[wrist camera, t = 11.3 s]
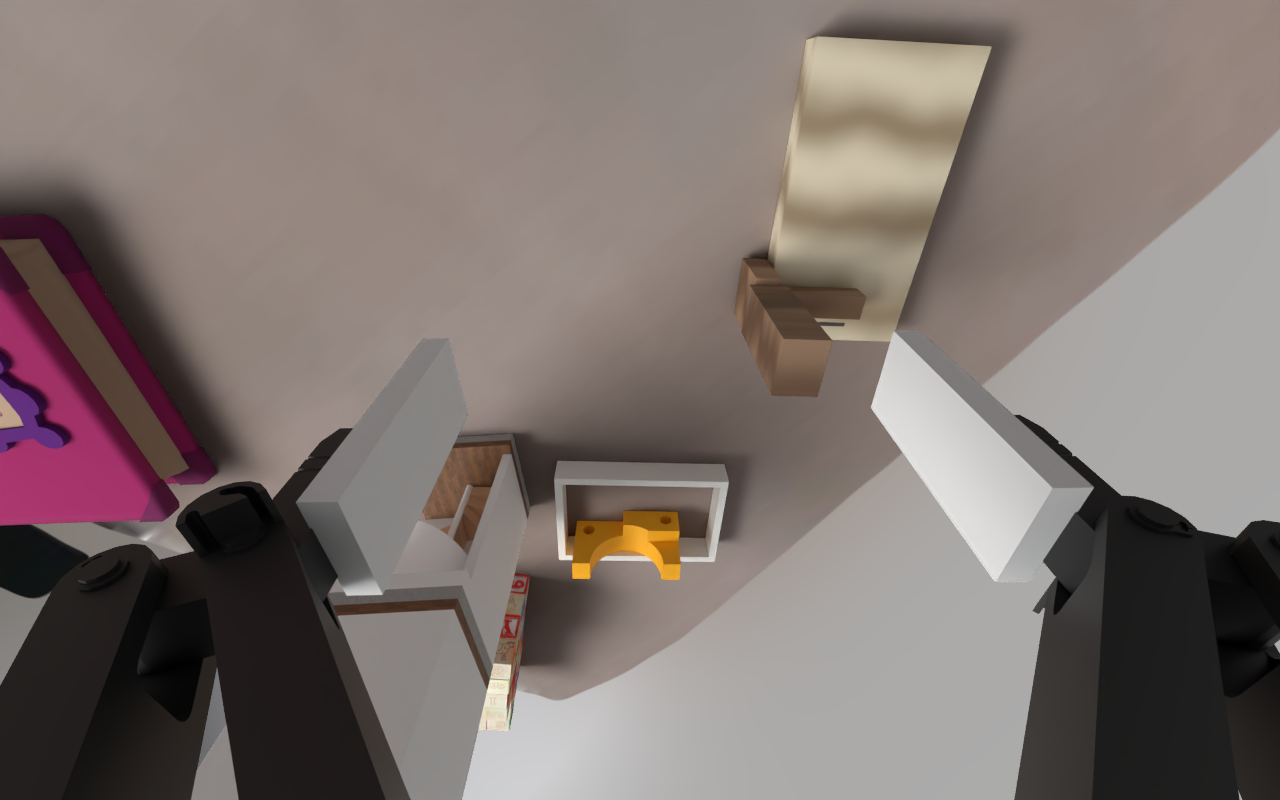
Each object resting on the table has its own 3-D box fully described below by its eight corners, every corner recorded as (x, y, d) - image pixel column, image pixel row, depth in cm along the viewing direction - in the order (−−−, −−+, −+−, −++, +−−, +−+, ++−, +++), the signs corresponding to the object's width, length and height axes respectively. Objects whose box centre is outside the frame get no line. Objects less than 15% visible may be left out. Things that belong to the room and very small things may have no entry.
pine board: (806, 39, 35) (818, 36, 33) (970, 49, 36) (992, 46, 34) (755, 326, 47) (761, 337, 45) (879, 330, 47) (891, 341, 45)
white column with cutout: (513, 433, 53) (365, 872, 23) (530, 506, 58) (430, 935, 29) (406, 439, 53) (124, 884, 23) (434, 512, 59) (235, 945, 29)
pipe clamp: (677, 511, 60) (682, 553, 54) (674, 536, 62) (678, 579, 56) (576, 509, 59) (571, 552, 54) (577, 534, 61) (572, 578, 56)
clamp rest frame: (557, 460, 55) (554, 478, 52) (724, 464, 56) (728, 482, 53) (561, 540, 62) (559, 559, 59) (710, 542, 62) (714, 561, 60)
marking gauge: (736, 257, 43) (785, 331, 30) (850, 262, 43) (947, 336, 30) (728, 312, 46) (770, 401, 32) (836, 315, 46) (919, 405, 33)
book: (35, 481, 56) (-43, 532, 49) (-194, 221, 41) (-349, 245, 34) (223, 474, 56) (170, 525, 49) (63, 212, 41) (-43, 235, 34)
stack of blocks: (521, 665, 76) (504, 757, 66) (479, 662, 75) (455, 754, 65) (530, 574, 65) (511, 666, 55) (481, 569, 64) (453, 662, 54)
